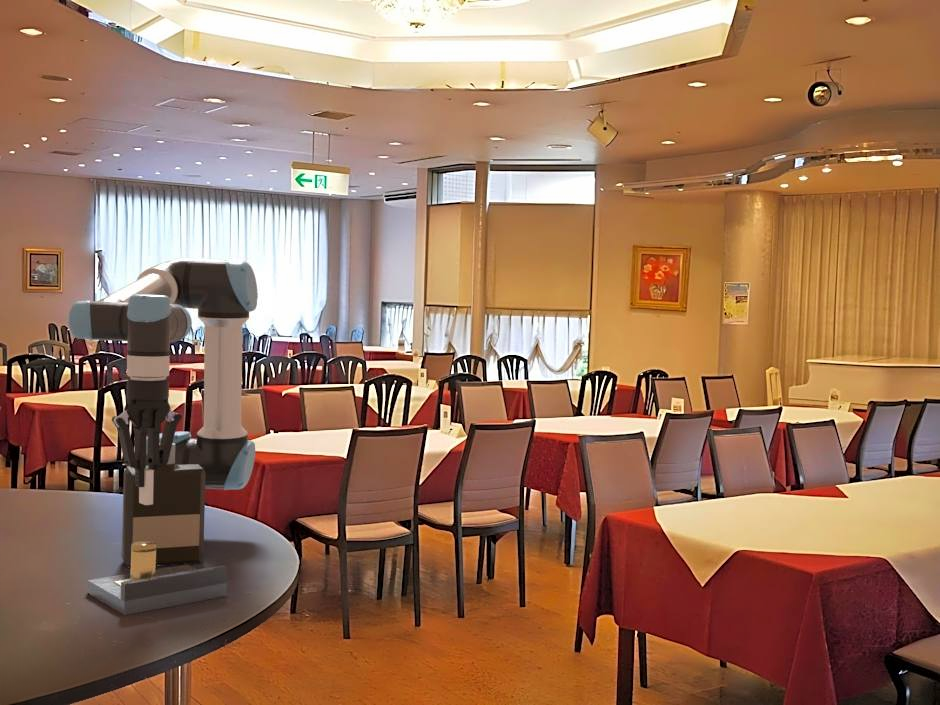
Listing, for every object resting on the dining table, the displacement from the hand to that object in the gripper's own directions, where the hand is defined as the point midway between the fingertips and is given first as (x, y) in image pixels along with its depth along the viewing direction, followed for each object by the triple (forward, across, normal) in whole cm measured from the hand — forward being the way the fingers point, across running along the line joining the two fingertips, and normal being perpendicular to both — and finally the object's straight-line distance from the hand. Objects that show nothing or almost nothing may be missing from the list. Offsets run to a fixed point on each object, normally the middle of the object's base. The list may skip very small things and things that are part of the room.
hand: (145, 503), depth 190 cm
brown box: (+18, -13, -19) cm, 29 cm away
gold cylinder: (+17, +1, +2) cm, 17 cm away
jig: (+17, -2, +2) cm, 17 cm away
